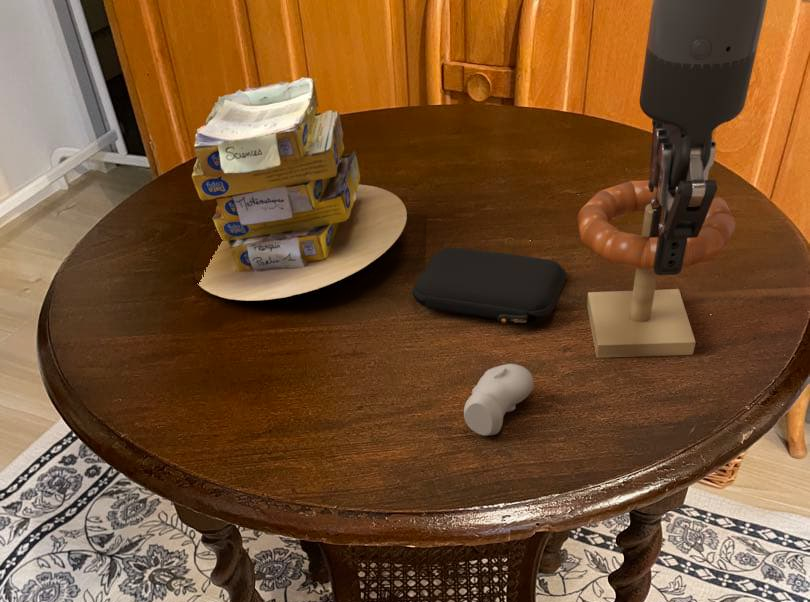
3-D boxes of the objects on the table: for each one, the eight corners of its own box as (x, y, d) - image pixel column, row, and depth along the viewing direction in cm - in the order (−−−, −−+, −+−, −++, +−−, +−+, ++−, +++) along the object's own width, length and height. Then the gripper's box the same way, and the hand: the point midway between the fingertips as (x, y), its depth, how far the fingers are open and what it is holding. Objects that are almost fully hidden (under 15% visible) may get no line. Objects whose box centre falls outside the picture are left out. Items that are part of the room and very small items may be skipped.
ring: (713, 198, 81) (718, 171, 79) (745, 271, 72) (751, 242, 70) (571, 206, 82) (573, 179, 80) (585, 278, 73) (587, 250, 71)
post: (676, 301, 87) (699, 181, 78) (693, 355, 81) (720, 231, 72) (586, 304, 88) (599, 185, 79) (596, 358, 82) (611, 236, 73)
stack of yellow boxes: (154, 301, 94) (104, 146, 81) (245, 193, 109) (215, 49, 97) (369, 326, 88) (351, 164, 75) (433, 208, 103) (426, 58, 91)
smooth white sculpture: (499, 392, 81) (545, 396, 78) (451, 438, 77) (498, 444, 74) (488, 351, 79) (536, 353, 75) (438, 396, 75) (486, 401, 71)
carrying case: (403, 318, 88) (544, 340, 84) (401, 292, 86) (546, 313, 82) (437, 264, 95) (569, 282, 91) (436, 238, 93) (571, 256, 88)
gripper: (782, 74, 55) (725, 307, 68) (735, 3, 65) (693, 220, 78) (664, 81, 56) (629, 310, 69) (634, 9, 65) (608, 223, 78)
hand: (663, 261), depth 73 cm, fingers closed on ring, 2 cm apart
